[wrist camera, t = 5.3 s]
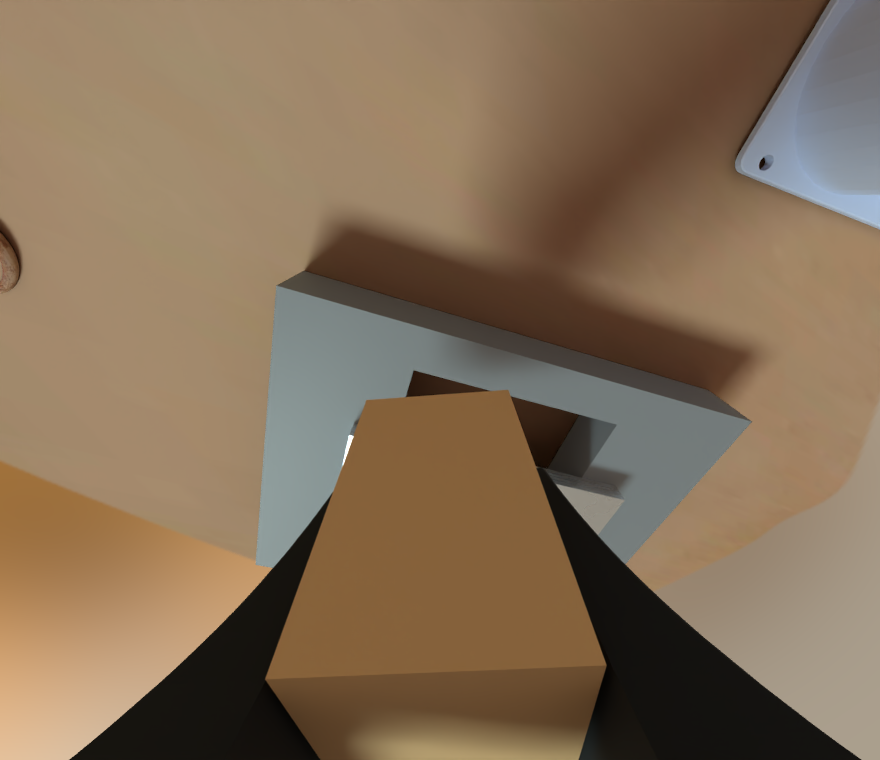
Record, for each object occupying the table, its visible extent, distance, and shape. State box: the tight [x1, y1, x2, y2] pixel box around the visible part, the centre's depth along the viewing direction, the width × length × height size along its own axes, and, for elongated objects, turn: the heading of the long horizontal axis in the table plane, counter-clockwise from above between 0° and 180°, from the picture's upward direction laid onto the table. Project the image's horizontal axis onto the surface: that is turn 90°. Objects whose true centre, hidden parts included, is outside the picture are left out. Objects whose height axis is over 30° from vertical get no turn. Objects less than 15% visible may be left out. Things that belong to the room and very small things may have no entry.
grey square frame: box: [256, 271, 752, 568], centre depth 20 cm, size 22×18×3 cm
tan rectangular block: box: [265, 390, 607, 760], centre depth 9 cm, size 4×4×7 cm
